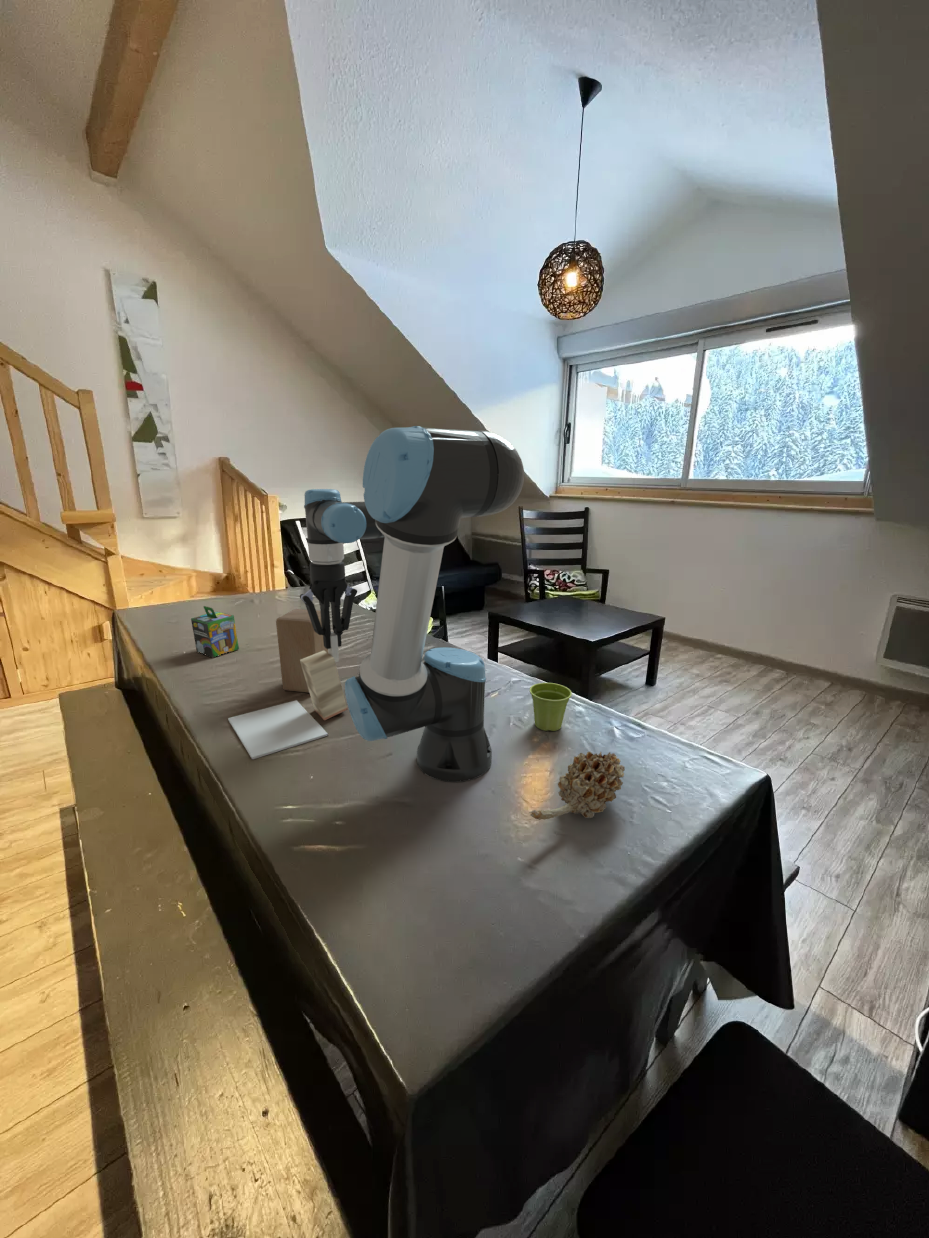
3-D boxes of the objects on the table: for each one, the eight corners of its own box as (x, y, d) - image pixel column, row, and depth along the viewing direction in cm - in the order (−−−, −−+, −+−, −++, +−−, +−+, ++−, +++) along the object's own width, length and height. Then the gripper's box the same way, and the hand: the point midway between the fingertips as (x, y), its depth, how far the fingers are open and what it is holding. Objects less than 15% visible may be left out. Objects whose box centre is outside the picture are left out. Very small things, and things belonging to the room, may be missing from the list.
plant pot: (544, 711, 123) (546, 678, 121) (576, 725, 117) (579, 691, 114) (519, 724, 117) (521, 690, 114) (552, 740, 111) (555, 704, 108)
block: (316, 695, 130) (310, 621, 125) (281, 691, 132) (273, 618, 126) (333, 679, 140) (329, 610, 134) (300, 676, 142) (294, 607, 136)
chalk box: (239, 650, 161) (234, 605, 156) (212, 658, 153) (205, 612, 149) (222, 644, 165) (216, 600, 161) (195, 652, 158) (188, 607, 154)
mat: (328, 735, 111) (327, 733, 111) (252, 759, 102) (252, 757, 102) (296, 701, 127) (296, 700, 126) (228, 720, 117) (228, 718, 117)
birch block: (347, 709, 121) (334, 657, 115) (324, 720, 118) (309, 668, 112) (337, 700, 125) (323, 650, 120) (314, 710, 122) (299, 659, 117)
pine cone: (586, 777, 98) (590, 731, 95) (632, 800, 91) (638, 752, 88) (512, 833, 83) (515, 781, 80) (561, 865, 76) (566, 809, 73)
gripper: (347, 555, 118) (353, 649, 125) (291, 561, 111) (300, 661, 118) (361, 560, 113) (366, 659, 120) (303, 567, 105) (312, 671, 112)
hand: (333, 660), depth 119 cm, fingers closed
